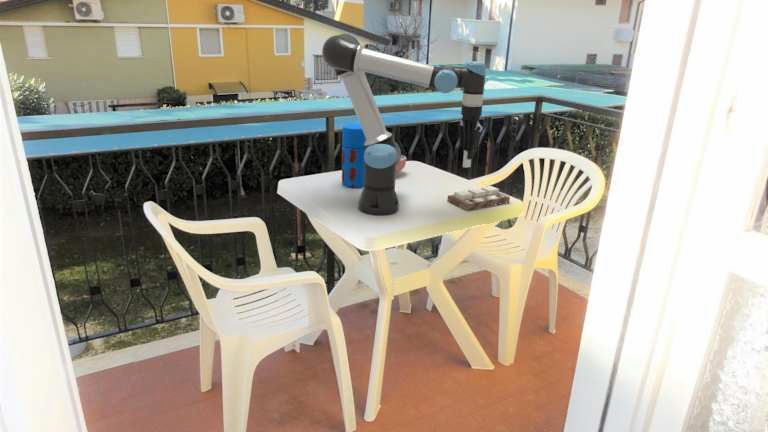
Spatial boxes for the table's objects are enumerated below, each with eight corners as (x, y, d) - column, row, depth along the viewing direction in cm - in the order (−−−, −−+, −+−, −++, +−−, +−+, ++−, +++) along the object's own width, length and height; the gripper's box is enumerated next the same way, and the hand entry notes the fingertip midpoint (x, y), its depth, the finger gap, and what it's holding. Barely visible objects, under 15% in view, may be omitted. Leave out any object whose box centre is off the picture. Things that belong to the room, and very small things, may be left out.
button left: (461, 201, 205) (462, 195, 204) (453, 197, 209) (454, 191, 208) (471, 199, 207) (472, 193, 207) (463, 196, 211) (464, 190, 211)
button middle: (475, 199, 208) (476, 193, 208) (467, 195, 212) (468, 189, 212) (485, 197, 211) (486, 191, 210) (477, 193, 215) (477, 187, 214)
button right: (489, 196, 212) (489, 190, 211) (480, 193, 216) (481, 187, 215) (498, 195, 214) (499, 189, 214) (489, 191, 218) (490, 185, 218)
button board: (466, 211, 201) (467, 204, 200) (447, 201, 210) (447, 194, 209) (509, 202, 212) (510, 196, 211) (488, 194, 221) (489, 187, 220)
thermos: (364, 189, 221) (366, 130, 212) (339, 187, 222) (339, 128, 213) (369, 182, 231) (370, 125, 222) (345, 179, 232) (346, 123, 223)
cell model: (410, 178, 238) (412, 154, 234) (368, 180, 233) (368, 155, 229) (399, 168, 253) (400, 145, 249) (358, 170, 248) (359, 146, 244)
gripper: (491, 107, 192) (485, 169, 200) (468, 101, 202) (463, 161, 211) (475, 108, 188) (470, 172, 196) (453, 102, 198) (448, 163, 207)
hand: (466, 166), depth 204 cm, fingers closed
